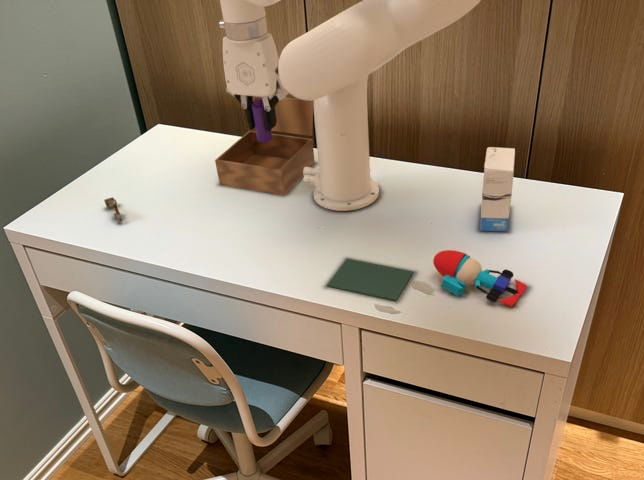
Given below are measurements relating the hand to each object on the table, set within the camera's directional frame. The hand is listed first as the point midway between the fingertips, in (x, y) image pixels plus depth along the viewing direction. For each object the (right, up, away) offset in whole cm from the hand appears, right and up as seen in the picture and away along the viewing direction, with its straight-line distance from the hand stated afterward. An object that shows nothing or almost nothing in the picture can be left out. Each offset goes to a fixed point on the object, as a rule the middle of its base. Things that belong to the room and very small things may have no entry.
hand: (262, 126), depth 139 cm
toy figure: (+36, -34, -26) cm, 56 cm away
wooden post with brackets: (-28, -17, 0) cm, 33 cm away
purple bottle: (0, -2, +2) cm, 3 cm away
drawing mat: (+20, -32, -22) cm, 44 cm away
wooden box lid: (+3, +4, +6) cm, 8 cm away
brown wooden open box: (0, -7, +7) cm, 10 cm away
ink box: (+43, -21, -12) cm, 49 cm away
